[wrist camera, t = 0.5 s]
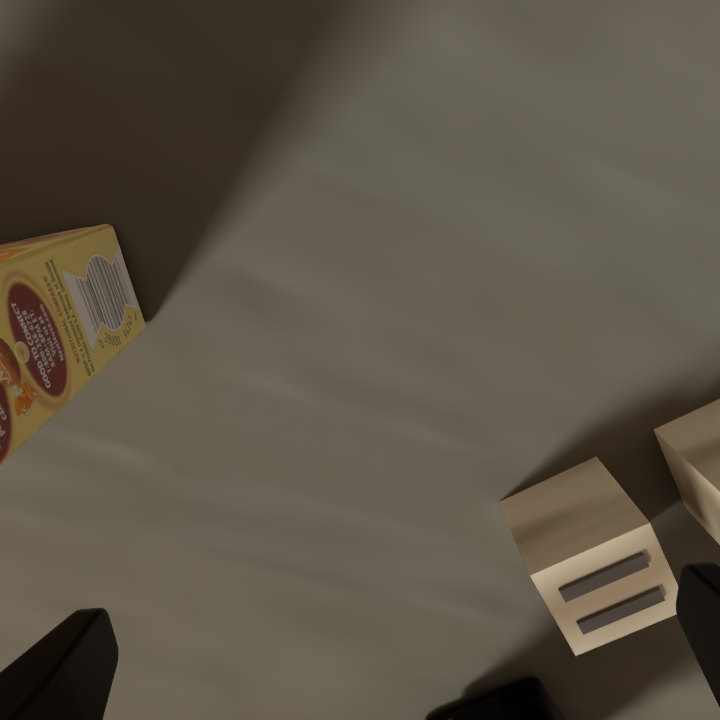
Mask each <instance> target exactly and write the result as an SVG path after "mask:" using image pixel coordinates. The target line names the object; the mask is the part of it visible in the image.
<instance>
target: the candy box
mask: <svg viewBox="0 0 720 720" xmlns="http://www.w3.org/2000/svg"><path fill="white" fill-rule="evenodd" d="M145 328H146V324H145V321H144V318H143V315H142V312H141V309H140V306H139V303H138V301H137V298H136V295H135V292H134V289H133V286H132V283H131V280H130V277H129V274H128V271H127V268H126V265H125V262H124V259H123V255H122V252H121V249H120V246H119V243H118V240H117V237H116V234H115V231H114V228H113V226H111V225H109V224H103V225H98V226H92V227H86V228H80V229H74V230H69V231H64V232H58V233H53V234H48V235H43V236H39V237H34V238H29V239H24V240H19V241H14V242H9V243H4V244H0V465H1V464H2V463H3V462H4V461H5V460H6V459H7V458H9V457H10V456H11V455H12V454H13V453H14V452H15V451H16V450H17V449H18V448H19V447H20V446H21V445H22V444H24V443H25V442H26V441H27V440H28V439H29V438H30V437H31V436H32V435H33V434H34V433H35V432H36V431H37V430H38V429H40V428H41V427H42V426H43V425H44V423H45V422H46V421H48V420H49V419H50V418H51V417H52V416H53V415H54V414H55V413H56V412H57V411H58V410H59V409H60V408H61V407H62V406H63V405H65V404H66V403H67V402H68V401H69V400H70V399H71V398H72V397H73V396H74V395H75V394H76V393H77V392H78V391H79V390H80V389H81V388H82V387H83V386H84V385H86V384H87V383H88V382H89V381H90V380H91V379H92V378H93V377H94V376H95V375H96V374H97V373H98V372H99V371H100V370H101V369H103V368H104V367H105V366H106V365H107V364H108V363H109V362H110V361H111V360H112V359H113V358H114V357H115V356H116V355H117V354H118V353H119V352H120V351H122V350H123V349H124V348H125V347H126V346H127V345H128V344H129V343H130V342H131V341H132V340H133V339H134V338H135V337H136V336H138V335H139V334H140V333H141V332H142V331H143V330H144V329H145Z"/></svg>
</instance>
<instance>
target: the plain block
mask: <svg viewBox="0 0 720 720" xmlns="http://www.w3.org/2000/svg"><path fill="white" fill-rule="evenodd" d="M654 432H655V435H656V437H657V439H658V442H659V444H660V447H661V449H662V451H663V454H664V456H665V459H666V461H667V464H668V466H669V468H670V471H671V473H672V476H673V478H674V480H675V483H676V485H677V488H678V490H679V493H680V495H681V497H682V500H683V502H684V505H685V507H686V509H687V510H688V511H689V512H690V513H691V514H692V516H693V517H694V518H695V519H696V520H697V521H698V522H699V523H700V524H701V525H702V526H703V527H704V529H705V530H706V531H707V532H708V533H709V534H710V535H711V536H712V537H713V538H714V539H715V540H716V542H717V543H718V544H719V545H720V399H718V400H716V401H714V402H711V403H709V404H707V405H705V406H703V407H701V408H699V409H696V410H694V411H692V412H690V413H688V414H686V415H684V416H682V417H679V418H677V419H675V420H673V421H671V422H669V423H667V424H664V425H662V426H660V427H658V428H656V429H654Z"/></svg>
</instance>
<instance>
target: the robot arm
mask: <svg viewBox="0 0 720 720" xmlns="http://www.w3.org/2000/svg"><path fill="white" fill-rule="evenodd" d="M676 613H677V617H678V620H679V623H680V625H681V627H682V629H683V631H684V633H685V635H686V637H687V640H688V642H689V644H690V646H691V648H692V650H693V652H694V654H695V656H696V659H697V661H698V663H699V665H700V667H701V669H702V671H703V673H704V675H705V677H706V680H707V682H708V684H709V686H710V688H711V690H712V692H713V694H714V696H715V699H716V701H717V703H718V705H719V707H720V566H718V565H716V564H714V563H711V562H701V563H689V564H686V565H684V566H683V567H682V569H681V573H680V579H679V586H678V592H677V598H676ZM117 663H118V645H117V642H116V638H115V635H114V631H113V628H112V625H111V621H110V618H109V615H108V612H107V611H106V610H105V609H103V608H90V609H81V610H77V611H75V612H74V613H73V614H71V615H70V616H69V617H68V618H66V619H65V620H64V621H63V622H61V623H60V624H59V625H58V626H57V627H55V628H54V629H53V630H52V631H50V632H49V633H48V634H47V635H46V636H44V637H43V638H42V639H41V640H39V641H38V642H37V643H36V644H34V645H33V646H32V647H31V648H30V649H28V650H27V651H26V652H25V653H23V654H22V655H21V656H20V657H19V658H17V659H16V660H15V661H14V662H12V663H11V664H10V665H9V666H8V667H6V668H5V669H4V670H3V671H1V672H0V720H103V716H104V712H105V708H106V705H107V701H108V697H109V693H110V690H111V686H112V682H113V678H114V674H115V671H116V667H117ZM428 720H564V719H563V717H562V716H561V714H560V712H559V711H558V709H557V708H556V706H555V704H554V703H553V701H552V700H551V698H550V696H549V695H548V693H547V691H546V690H545V688H544V687H543V685H542V683H541V682H540V681H539V680H538V679H536V678H528V679H525V680H523V681H520V682H518V683H515V684H513V685H511V686H508V687H506V688H503V689H501V690H498V691H496V692H494V693H491V694H489V695H486V696H484V697H481V698H479V699H477V700H474V701H472V702H469V703H467V704H464V705H462V706H460V707H457V708H455V709H452V710H450V711H447V712H445V713H443V714H440V715H438V716H435V717H433V718H430V719H428Z"/></svg>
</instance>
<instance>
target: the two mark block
mask: <svg viewBox="0 0 720 720" xmlns="http://www.w3.org/2000/svg"><path fill="white" fill-rule="evenodd" d="M498 503H499V505H500V507H501V510H502V512H503V514H504V517H505V519H506V521H507V524H508V526H509V528H510V530H511V533H512V535H513V537H514V540H515V542H516V544H517V547H518V549H519V551H520V554H521V556H522V558H523V561H524V563H525V565H526V568H527V570H528V572H529V574H530V577H531V578H532V580H533V582H534V584H535V585H536V587H537V589H538V591H539V592H540V594H541V596H542V598H543V599H544V601H545V603H546V605H547V606H548V608H549V610H550V612H551V613H552V615H553V617H554V619H555V620H556V622H557V624H558V626H559V628H560V629H561V631H562V633H563V635H564V636H565V638H566V640H567V642H568V643H569V645H570V647H571V649H572V650H573V652H574V654H575V656H577V655H580V654H582V653H584V652H587V651H589V650H592V649H594V648H597V647H599V646H601V645H604V644H606V643H609V642H611V641H613V640H616V639H618V638H621V637H623V636H625V635H628V634H630V633H633V632H635V631H638V630H640V629H642V628H645V627H647V626H650V625H652V624H654V623H657V622H659V621H662V620H664V619H667V618H669V617H671V616H674V615H676V614H677V613H676V598H677V592H678V585H677V582H676V580H675V578H674V576H673V573H672V571H671V569H670V567H669V564H668V562H667V560H666V558H665V556H664V553H663V551H662V549H661V547H660V544H659V542H658V540H657V538H656V535H655V533H654V531H653V529H652V526H651V524H650V522H649V521H648V520H647V519H646V517H645V516H644V515H643V514H642V512H641V511H640V510H639V509H638V507H637V506H636V505H635V504H634V502H633V501H632V500H631V499H630V497H629V496H628V495H627V494H626V492H625V491H624V490H623V489H622V487H621V486H620V485H619V484H618V482H617V481H616V480H615V479H614V477H613V476H612V475H611V474H610V473H609V471H608V470H607V469H606V468H605V466H604V465H603V464H602V463H601V461H600V460H599V459H598V458H597V456H596V457H594V458H592V459H590V460H587V461H585V462H583V463H581V464H579V465H577V466H575V467H572V468H570V469H568V470H566V471H564V472H562V473H560V474H557V475H555V476H553V477H551V478H549V479H547V480H545V481H543V482H540V483H538V484H536V485H534V486H532V487H530V488H528V489H525V490H523V491H521V492H519V493H517V494H515V495H513V496H510V497H508V498H506V499H504V500H502V501H500V502H498Z"/></svg>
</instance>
